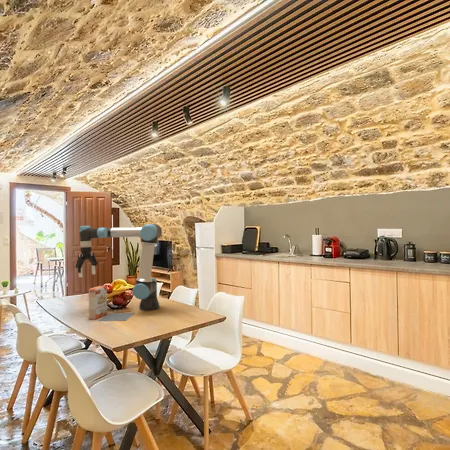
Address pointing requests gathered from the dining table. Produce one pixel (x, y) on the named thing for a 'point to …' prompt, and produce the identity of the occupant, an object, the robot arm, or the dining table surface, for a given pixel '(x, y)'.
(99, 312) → the cracker box
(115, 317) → the mat
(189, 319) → the dining table surface
